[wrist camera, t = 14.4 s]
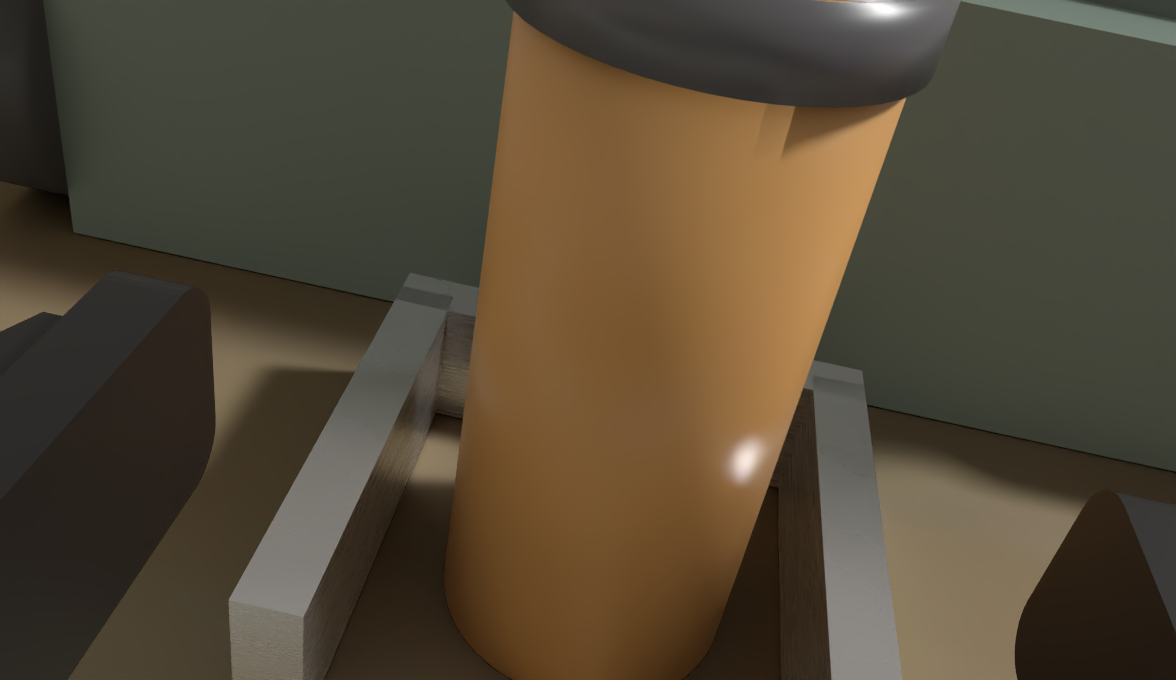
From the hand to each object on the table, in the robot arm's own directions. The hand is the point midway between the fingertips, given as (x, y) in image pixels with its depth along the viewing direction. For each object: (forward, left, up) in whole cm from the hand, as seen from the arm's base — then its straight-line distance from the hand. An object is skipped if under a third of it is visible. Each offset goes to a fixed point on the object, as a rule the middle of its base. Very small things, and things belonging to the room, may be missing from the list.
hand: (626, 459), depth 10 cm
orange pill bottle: (0, -5, -7) cm, 9 cm away
